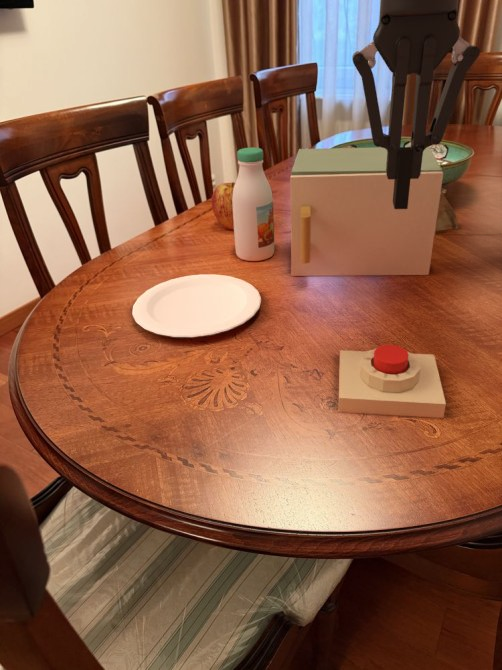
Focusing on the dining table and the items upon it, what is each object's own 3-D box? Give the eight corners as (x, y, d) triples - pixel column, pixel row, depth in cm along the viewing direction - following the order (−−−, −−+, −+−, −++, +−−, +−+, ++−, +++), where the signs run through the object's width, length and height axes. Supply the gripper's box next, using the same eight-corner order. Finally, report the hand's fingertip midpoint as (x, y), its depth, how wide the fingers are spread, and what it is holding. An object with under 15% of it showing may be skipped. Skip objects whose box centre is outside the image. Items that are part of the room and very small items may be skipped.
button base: (431, 368, 68) (436, 342, 66) (443, 418, 60) (448, 391, 58) (339, 363, 70) (340, 338, 68) (338, 412, 62) (339, 385, 60)
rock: (464, 213, 109) (417, 203, 112) (471, 189, 101) (420, 178, 104) (448, 257, 106) (400, 245, 110) (454, 236, 99) (402, 223, 102)
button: (405, 357, 64) (407, 345, 64) (408, 376, 61) (410, 364, 60) (372, 355, 65) (373, 343, 64) (373, 374, 62) (374, 362, 61)
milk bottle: (245, 265, 99) (238, 157, 88) (229, 251, 105) (221, 148, 94) (281, 256, 101) (279, 150, 90) (264, 243, 107) (260, 142, 96)
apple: (226, 217, 122) (222, 174, 116) (261, 221, 118) (259, 177, 113) (207, 231, 115) (202, 186, 109) (243, 236, 111) (240, 189, 106)
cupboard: (427, 272, 92) (442, 169, 82) (292, 270, 96) (291, 171, 86) (417, 238, 105) (429, 146, 96) (299, 237, 109) (298, 148, 99)
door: (435, 289, 86) (451, 182, 77) (290, 289, 89) (289, 186, 79) (427, 272, 92) (442, 171, 82) (291, 273, 94) (290, 175, 85)
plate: (259, 278, 93) (259, 270, 92) (264, 341, 76) (263, 331, 75) (144, 285, 94) (142, 276, 93) (122, 349, 76) (120, 339, 75)
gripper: (484, -37, 52) (450, 194, 65) (352, -26, 54) (344, 196, 67) (503, -41, 46) (462, 215, 59) (354, -29, 48) (345, 216, 61)
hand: (399, 205), depth 63 cm, fingers closed
